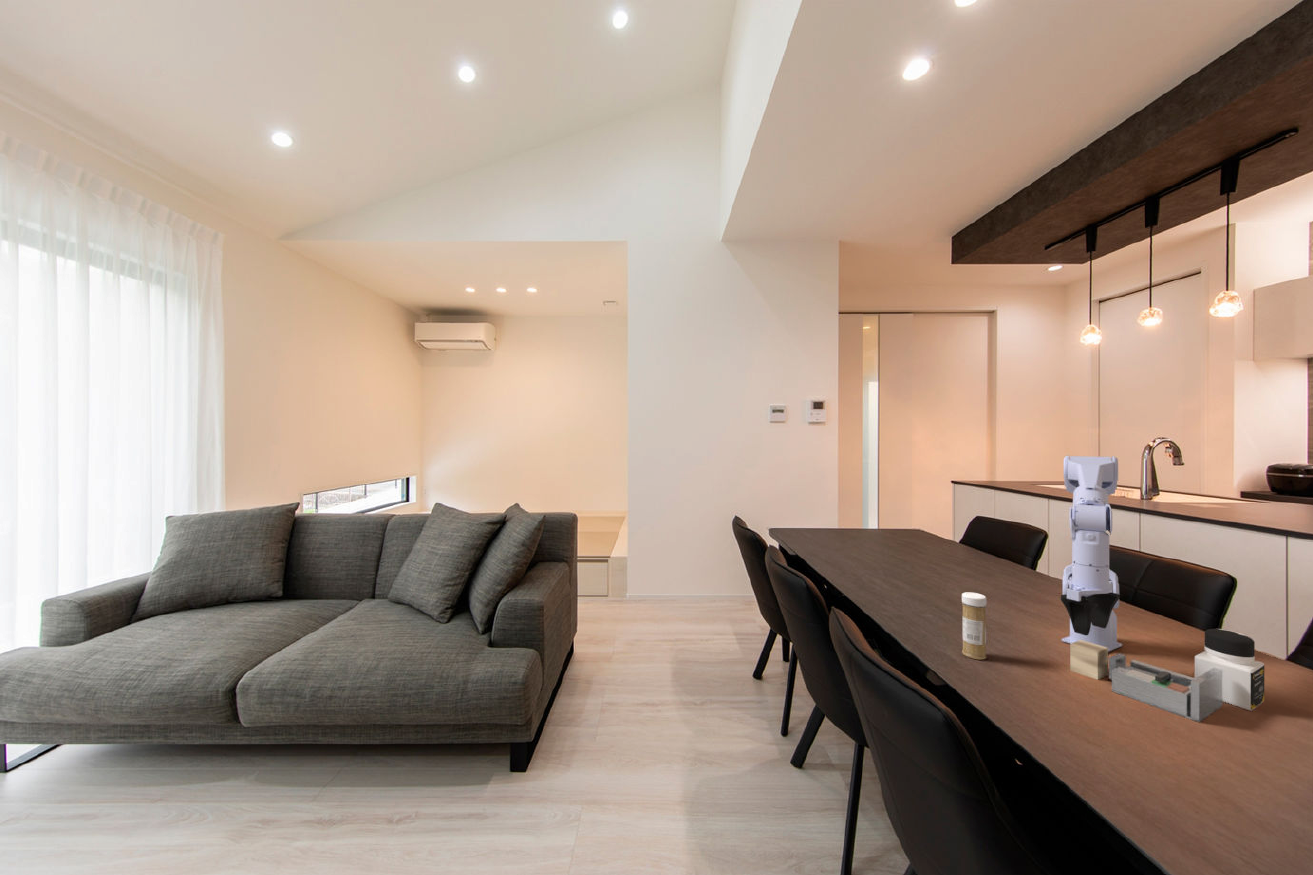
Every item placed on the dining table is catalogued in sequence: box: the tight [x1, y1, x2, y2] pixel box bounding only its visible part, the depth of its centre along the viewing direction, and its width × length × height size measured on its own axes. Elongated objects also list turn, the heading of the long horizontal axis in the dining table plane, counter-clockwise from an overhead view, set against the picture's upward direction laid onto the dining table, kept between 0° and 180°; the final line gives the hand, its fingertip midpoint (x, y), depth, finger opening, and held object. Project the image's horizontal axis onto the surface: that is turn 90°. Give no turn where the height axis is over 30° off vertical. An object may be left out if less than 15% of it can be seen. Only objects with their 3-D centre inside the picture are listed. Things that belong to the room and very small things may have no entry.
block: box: [1069, 640, 1109, 681], centre depth 101 cm, size 4×4×6 cm
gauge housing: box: [1111, 659, 1223, 723], centre depth 91 cm, size 11×12×6 cm
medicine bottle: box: [1194, 628, 1265, 712], centre depth 91 cm, size 7×7×12 cm
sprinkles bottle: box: [961, 591, 987, 661], centre depth 108 cm, size 5×5×14 cm
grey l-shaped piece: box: [1108, 653, 1173, 682], centre depth 93 cm, size 8×8×4 cm
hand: (1090, 630), depth 101 cm, fingers open, 7 cm apart
